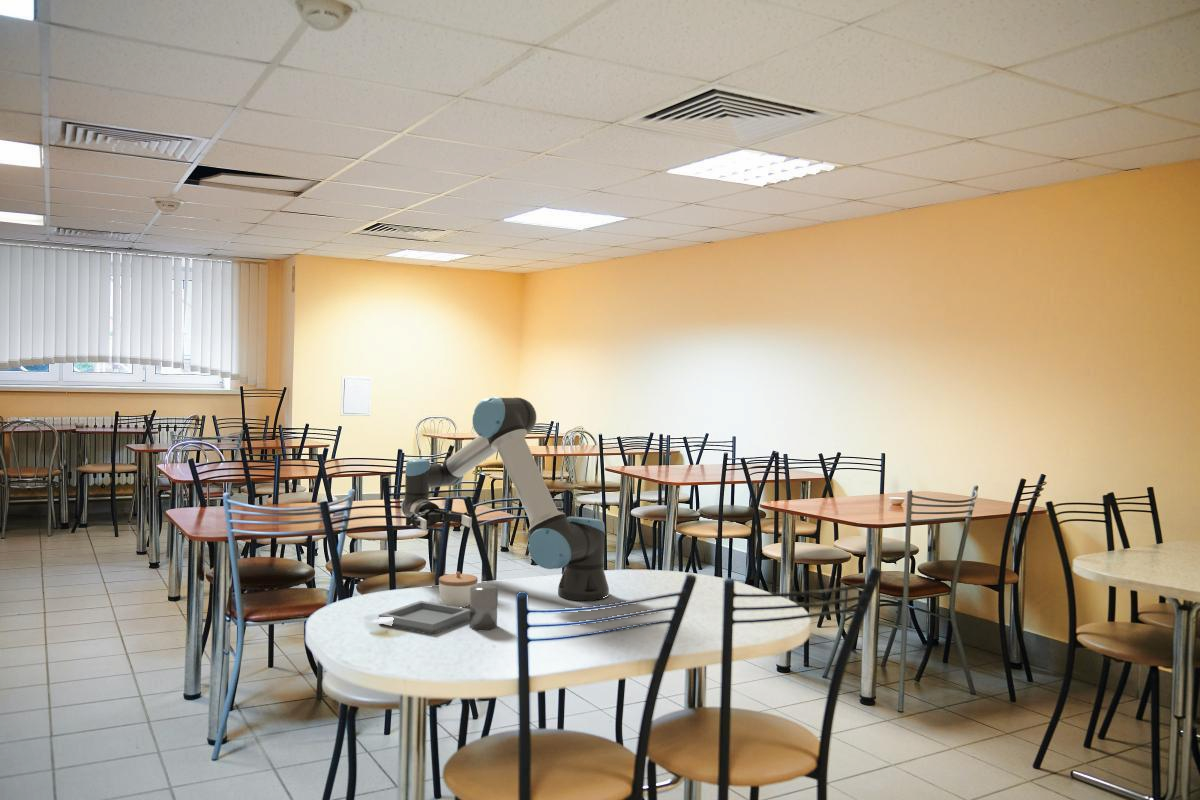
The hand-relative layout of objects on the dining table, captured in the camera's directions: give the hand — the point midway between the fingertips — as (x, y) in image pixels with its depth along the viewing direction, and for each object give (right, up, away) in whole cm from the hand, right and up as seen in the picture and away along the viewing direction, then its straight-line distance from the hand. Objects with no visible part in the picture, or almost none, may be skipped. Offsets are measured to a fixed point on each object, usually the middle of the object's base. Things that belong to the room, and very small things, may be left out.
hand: (448, 523), depth 253 cm
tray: (-1, -22, -26) cm, 34 cm away
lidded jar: (+4, -22, -8) cm, 24 cm away
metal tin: (+14, -22, -29) cm, 39 cm away
